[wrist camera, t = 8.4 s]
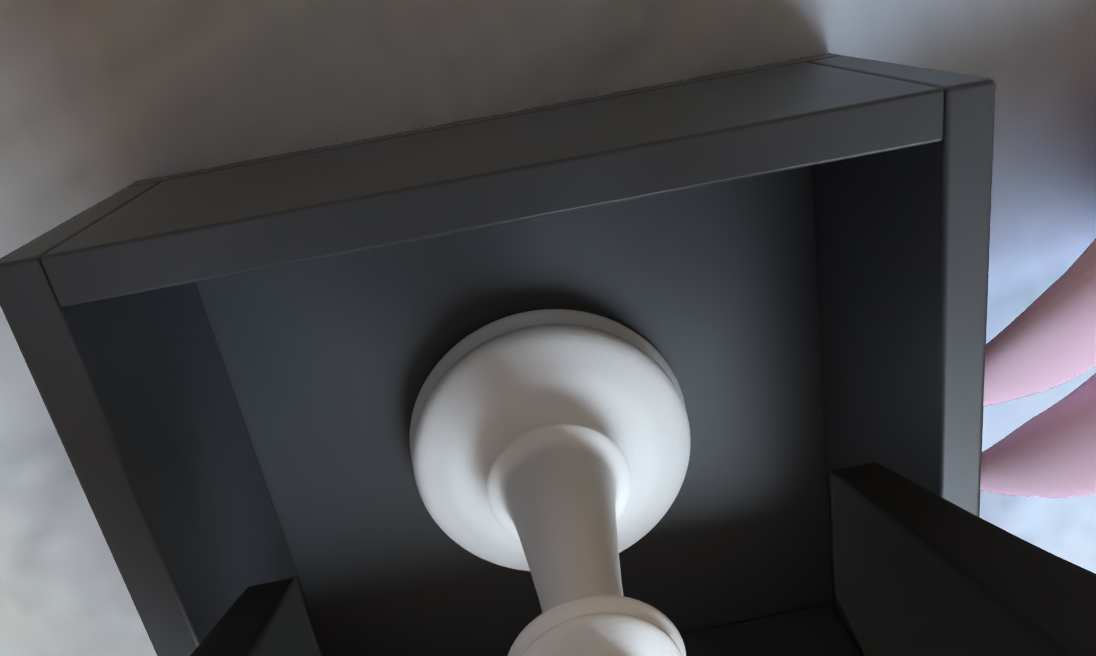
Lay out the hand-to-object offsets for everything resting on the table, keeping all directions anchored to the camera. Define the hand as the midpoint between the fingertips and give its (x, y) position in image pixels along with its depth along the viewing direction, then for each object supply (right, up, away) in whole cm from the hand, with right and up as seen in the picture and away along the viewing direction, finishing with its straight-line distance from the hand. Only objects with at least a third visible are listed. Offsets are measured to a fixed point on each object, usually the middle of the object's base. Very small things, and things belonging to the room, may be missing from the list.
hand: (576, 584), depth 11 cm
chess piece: (0, +2, +4) cm, 4 cm away
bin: (0, +2, +4) cm, 5 cm away
